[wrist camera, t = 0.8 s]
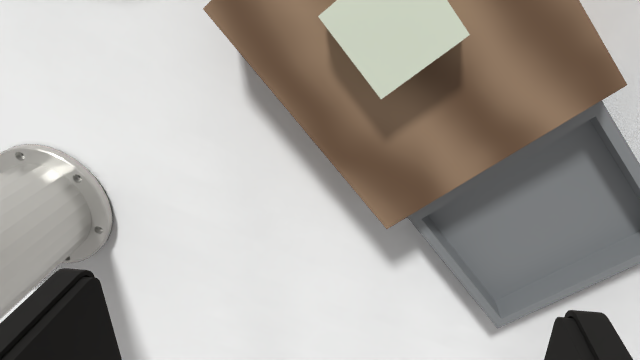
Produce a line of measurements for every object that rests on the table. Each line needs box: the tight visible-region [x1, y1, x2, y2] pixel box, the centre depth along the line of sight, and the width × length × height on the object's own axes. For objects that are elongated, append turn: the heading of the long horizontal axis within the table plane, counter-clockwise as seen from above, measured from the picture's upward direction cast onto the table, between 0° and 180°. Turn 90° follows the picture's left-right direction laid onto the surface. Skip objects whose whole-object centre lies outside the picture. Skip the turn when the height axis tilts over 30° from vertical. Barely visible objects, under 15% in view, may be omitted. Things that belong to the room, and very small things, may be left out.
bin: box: [408, 101, 640, 328], centre depth 37 cm, size 16×14×3 cm
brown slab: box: [203, 0, 627, 229], centre depth 31 cm, size 18×20×6 cm
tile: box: [318, 0, 470, 99], centre depth 27 cm, size 6×6×3 cm
